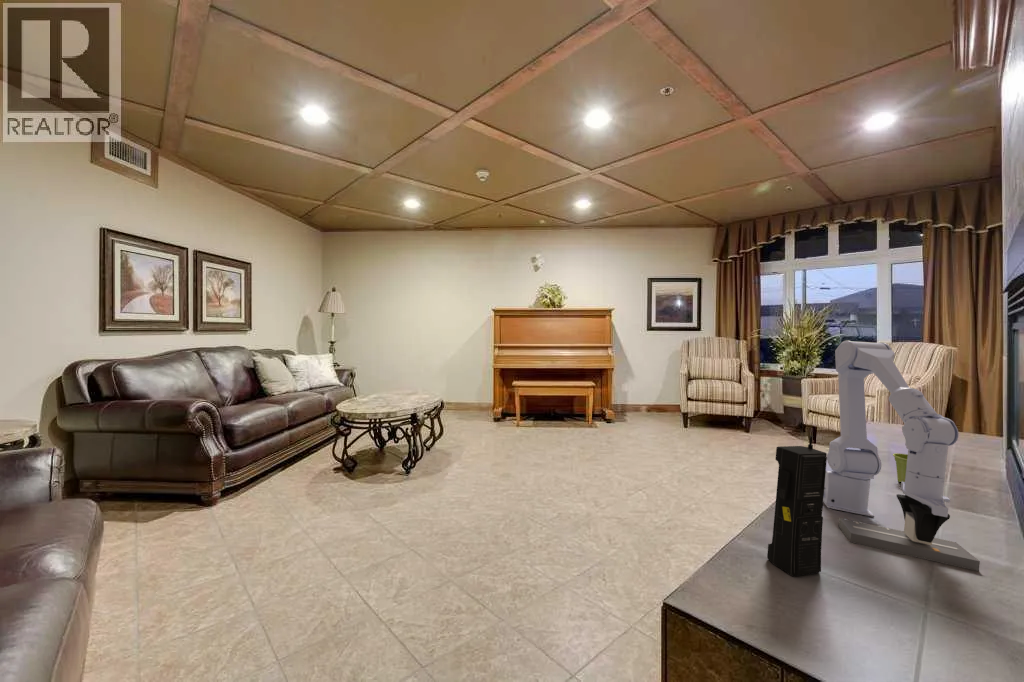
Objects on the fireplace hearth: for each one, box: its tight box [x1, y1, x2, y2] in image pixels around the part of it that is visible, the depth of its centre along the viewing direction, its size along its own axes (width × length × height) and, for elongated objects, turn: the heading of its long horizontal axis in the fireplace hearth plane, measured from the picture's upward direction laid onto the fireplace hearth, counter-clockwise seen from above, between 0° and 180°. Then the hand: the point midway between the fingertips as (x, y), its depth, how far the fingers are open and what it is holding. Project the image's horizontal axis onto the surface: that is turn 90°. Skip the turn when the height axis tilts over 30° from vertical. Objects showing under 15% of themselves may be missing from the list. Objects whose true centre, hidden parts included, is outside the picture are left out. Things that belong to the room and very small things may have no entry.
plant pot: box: [892, 453, 908, 483], centre depth 125 cm, size 9×9×9 cm
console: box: [838, 517, 981, 572], centre depth 86 cm, size 20×8×2 cm, turn 65°
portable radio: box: [766, 435, 828, 577], centre depth 75 cm, size 8×6×25 cm
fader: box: [903, 512, 932, 545], centre depth 85 cm, size 3×4×5 cm
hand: (918, 535), depth 85 cm, fingers closed on fader, 4 cm apart
